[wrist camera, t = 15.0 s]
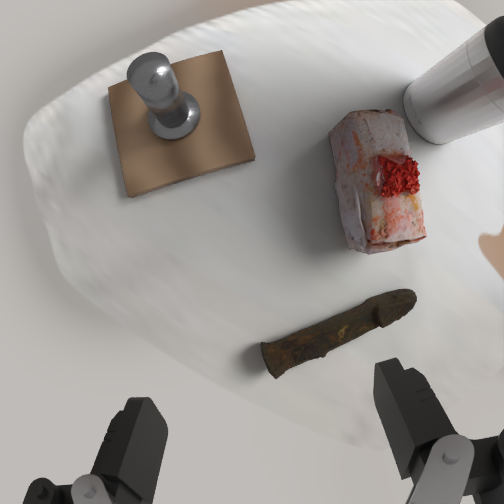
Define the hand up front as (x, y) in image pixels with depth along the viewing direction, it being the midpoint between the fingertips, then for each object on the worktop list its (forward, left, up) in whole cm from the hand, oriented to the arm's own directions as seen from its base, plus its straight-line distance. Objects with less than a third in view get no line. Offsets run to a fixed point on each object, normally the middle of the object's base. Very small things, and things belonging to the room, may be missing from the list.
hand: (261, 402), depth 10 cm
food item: (-15, -7, -24) cm, 29 cm away
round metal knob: (+2, -19, -22) cm, 29 cm away
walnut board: (+3, -20, -23) cm, 31 cm away
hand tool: (-9, +7, -24) cm, 26 cm away
